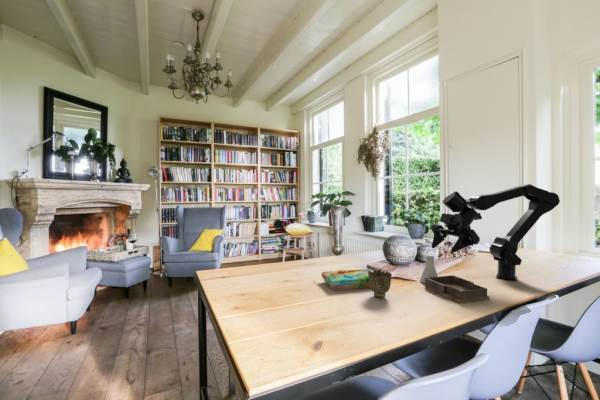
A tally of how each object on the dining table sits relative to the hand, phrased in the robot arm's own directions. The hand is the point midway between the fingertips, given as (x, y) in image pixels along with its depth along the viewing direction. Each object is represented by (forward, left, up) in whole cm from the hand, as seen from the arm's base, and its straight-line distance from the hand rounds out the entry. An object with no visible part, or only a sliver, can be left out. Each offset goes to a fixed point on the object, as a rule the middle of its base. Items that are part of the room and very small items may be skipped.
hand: (441, 249), depth 109 cm
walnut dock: (+12, +7, -12) cm, 19 cm away
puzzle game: (+25, -25, -13) cm, 38 cm away
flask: (+5, -3, -12) cm, 14 cm away
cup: (+31, -12, -12) cm, 36 cm away
